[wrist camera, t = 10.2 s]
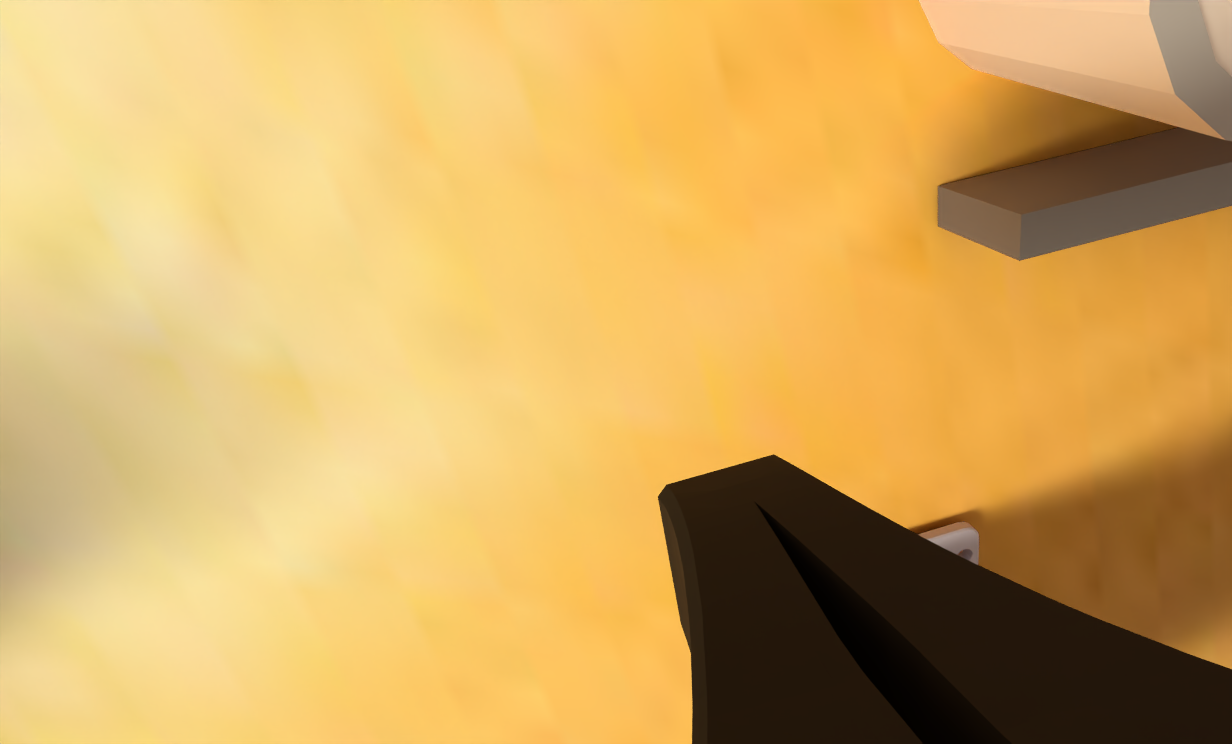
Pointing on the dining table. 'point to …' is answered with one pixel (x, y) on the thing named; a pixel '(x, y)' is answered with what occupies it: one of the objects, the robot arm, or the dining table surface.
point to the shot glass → (1104, 52)
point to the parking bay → (1090, 193)
